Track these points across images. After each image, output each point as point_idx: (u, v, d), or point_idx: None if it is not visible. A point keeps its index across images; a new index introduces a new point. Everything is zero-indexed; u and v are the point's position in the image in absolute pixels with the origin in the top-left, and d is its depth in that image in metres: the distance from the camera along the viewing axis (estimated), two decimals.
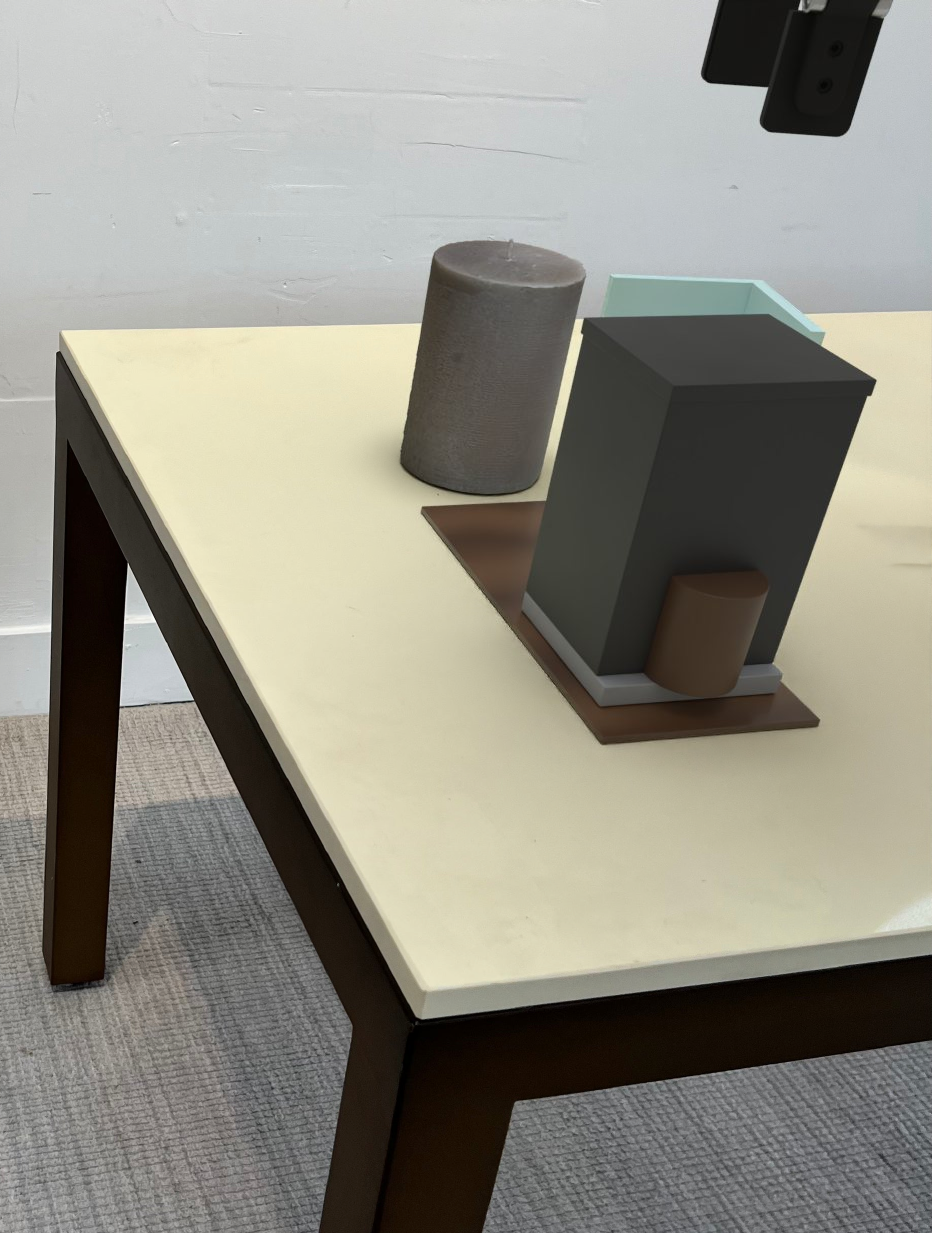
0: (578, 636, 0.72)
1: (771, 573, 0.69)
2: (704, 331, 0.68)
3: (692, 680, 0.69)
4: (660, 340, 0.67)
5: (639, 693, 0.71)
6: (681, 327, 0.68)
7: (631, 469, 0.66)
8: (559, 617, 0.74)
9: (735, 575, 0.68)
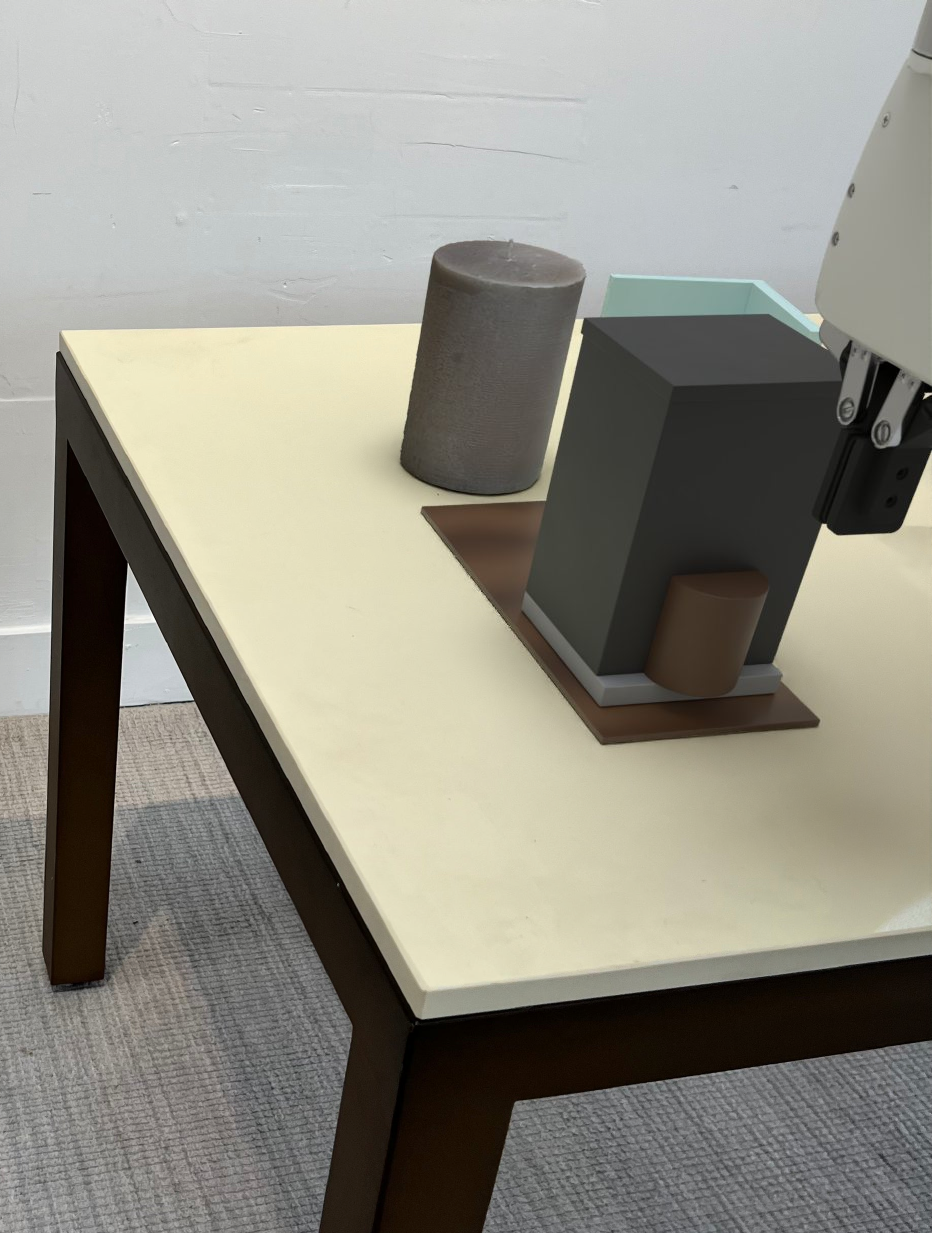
0: (578, 636, 0.72)
1: (771, 573, 0.69)
2: (704, 331, 0.68)
3: (692, 680, 0.69)
4: (660, 340, 0.67)
5: (639, 693, 0.71)
6: (681, 327, 0.68)
7: (631, 469, 0.66)
8: (559, 617, 0.74)
9: (735, 575, 0.68)
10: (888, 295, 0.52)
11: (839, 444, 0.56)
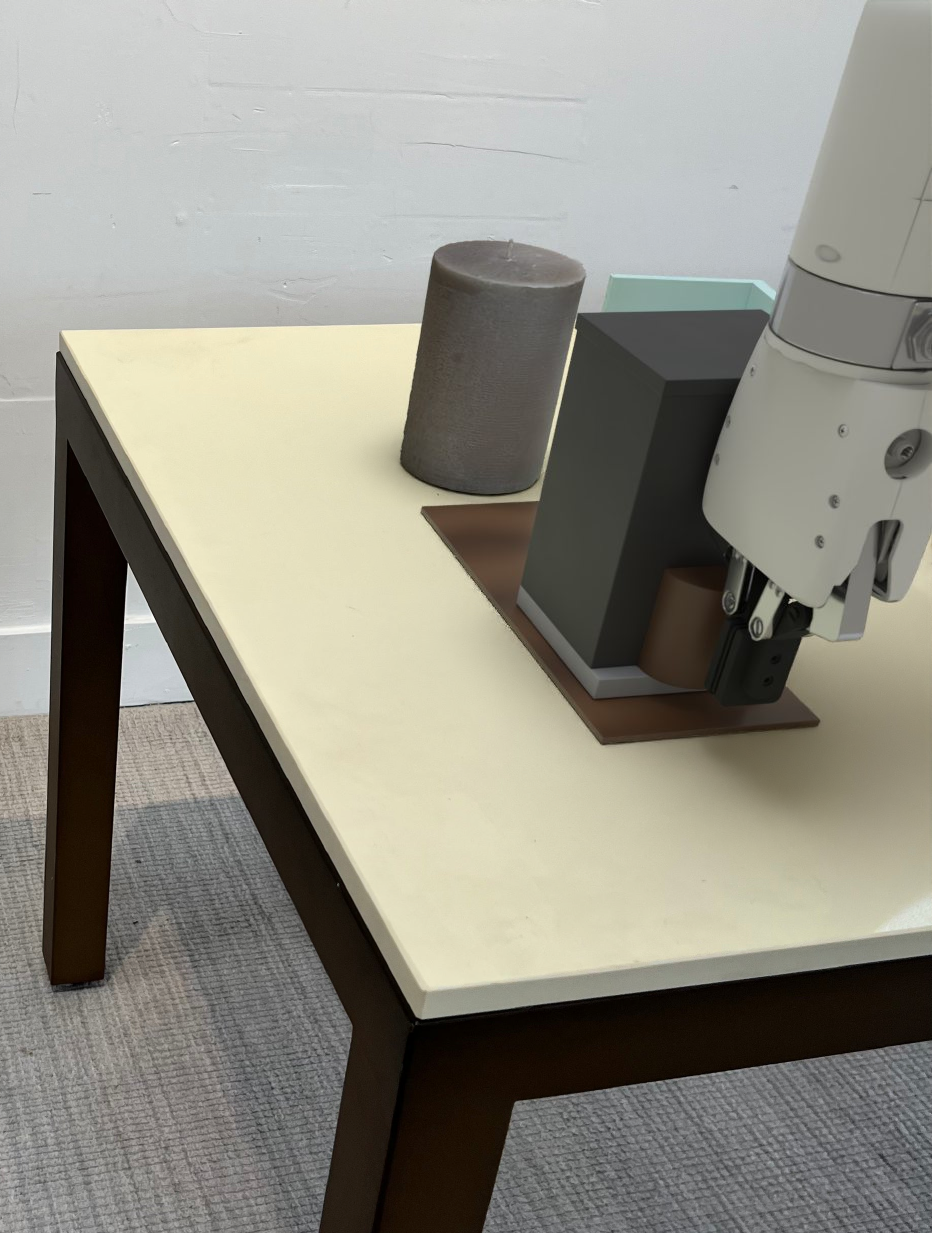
0: (573, 629, 0.73)
1: None
2: (697, 326, 0.69)
3: (685, 672, 0.70)
4: (653, 335, 0.67)
5: (632, 685, 0.71)
6: (674, 322, 0.69)
7: (624, 463, 0.66)
8: (553, 610, 0.75)
9: None
10: (756, 518, 0.61)
11: (724, 631, 0.66)
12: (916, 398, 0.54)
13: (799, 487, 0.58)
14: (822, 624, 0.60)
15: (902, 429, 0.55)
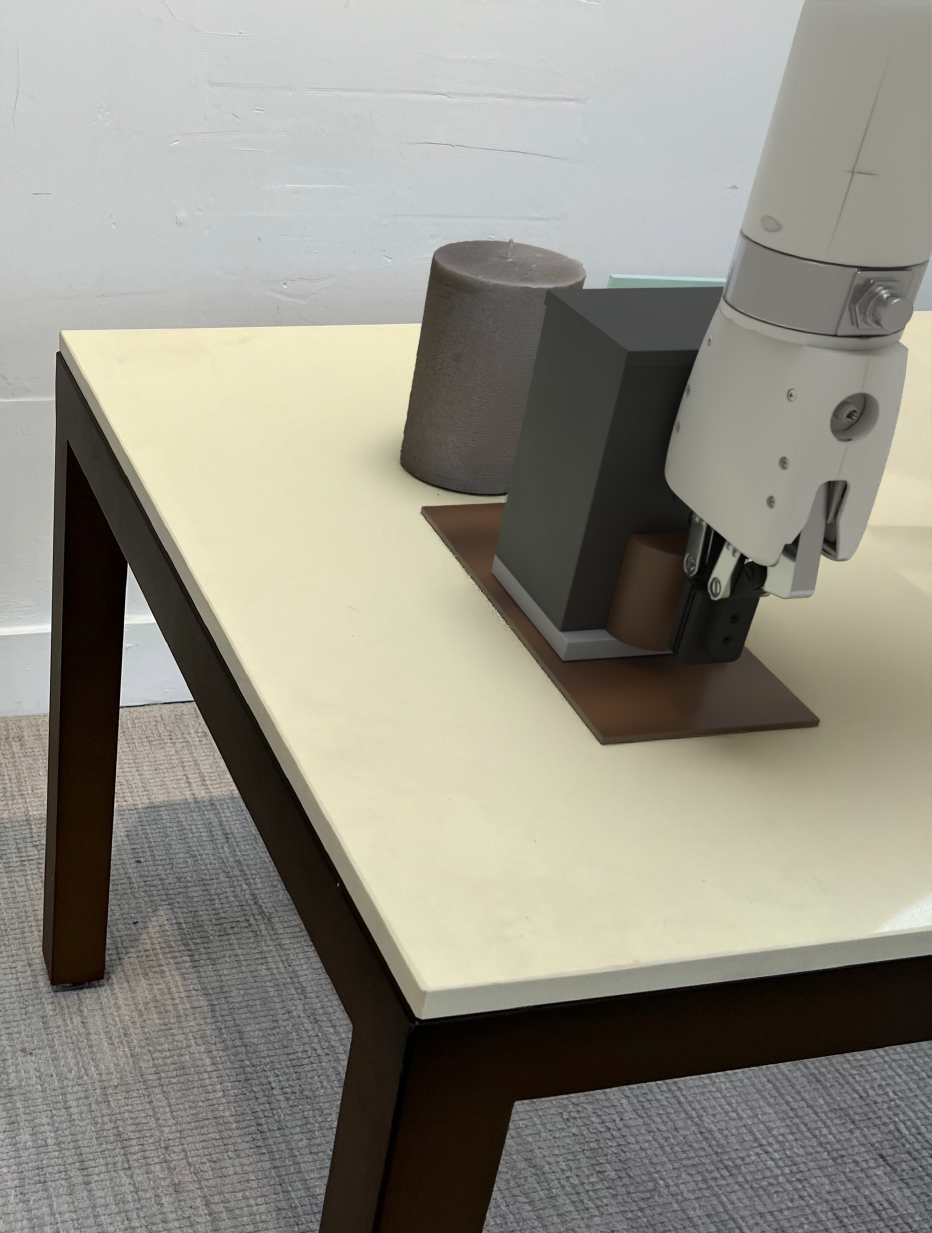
0: (543, 594, 0.76)
1: None
2: (661, 302, 0.72)
3: (650, 635, 0.73)
4: (618, 310, 0.70)
5: (600, 648, 0.74)
6: (639, 298, 0.72)
7: (590, 432, 0.69)
8: (526, 577, 0.78)
9: None
10: (713, 481, 0.64)
11: (685, 592, 0.68)
12: (859, 363, 0.57)
13: (752, 450, 0.61)
14: (775, 582, 0.63)
15: (847, 393, 0.57)
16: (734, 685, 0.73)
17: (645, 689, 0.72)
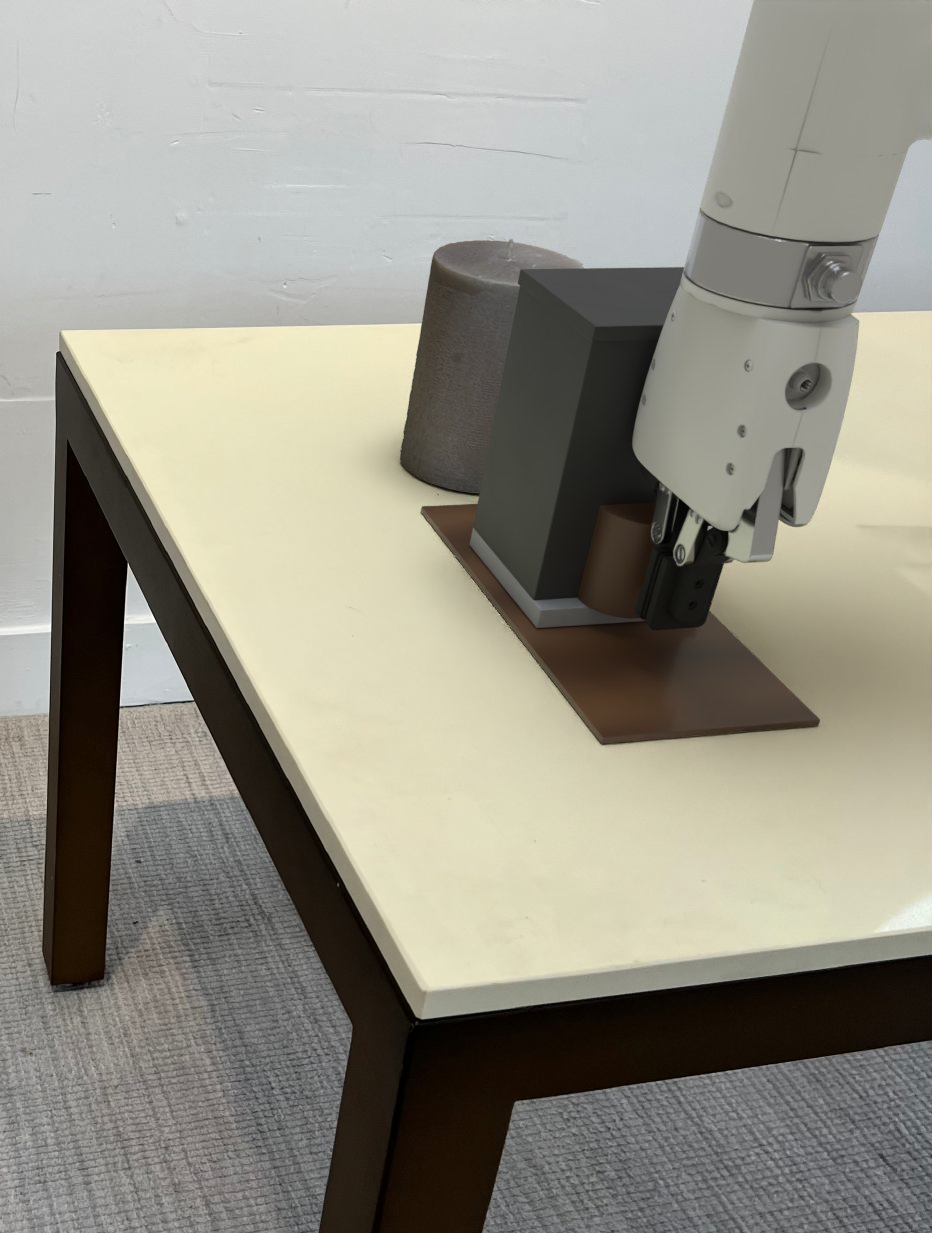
0: (518, 564, 0.78)
1: None
2: (630, 281, 0.74)
3: (620, 602, 0.75)
4: (588, 288, 0.73)
5: (572, 616, 0.77)
6: (609, 277, 0.75)
7: (561, 406, 0.72)
8: (501, 549, 0.80)
9: None
10: (677, 451, 0.67)
11: (652, 559, 0.71)
12: (812, 334, 0.60)
13: (712, 420, 0.64)
14: (736, 547, 0.66)
15: (800, 363, 0.60)
16: (734, 685, 0.73)
17: (645, 689, 0.72)
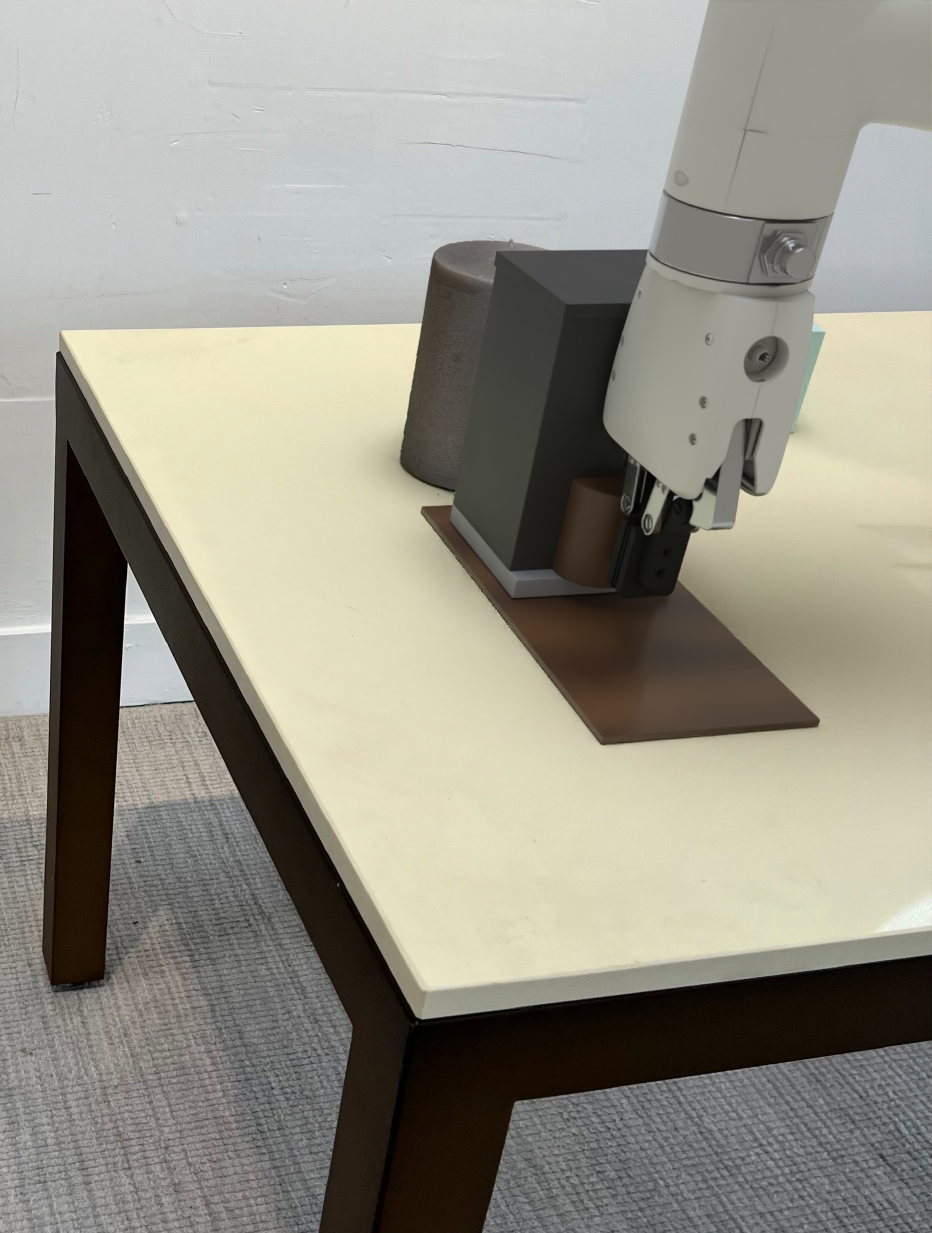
0: (495, 537, 0.81)
1: None
2: (602, 262, 0.77)
3: (592, 572, 0.78)
4: (561, 269, 0.76)
5: (547, 586, 0.80)
6: (582, 259, 0.77)
7: (534, 382, 0.75)
8: (479, 523, 0.83)
9: None
10: (644, 423, 0.70)
11: (621, 529, 0.74)
12: (769, 309, 0.62)
13: (676, 392, 0.66)
14: (700, 515, 0.68)
15: (758, 336, 0.63)
16: (734, 685, 0.73)
17: (645, 689, 0.72)
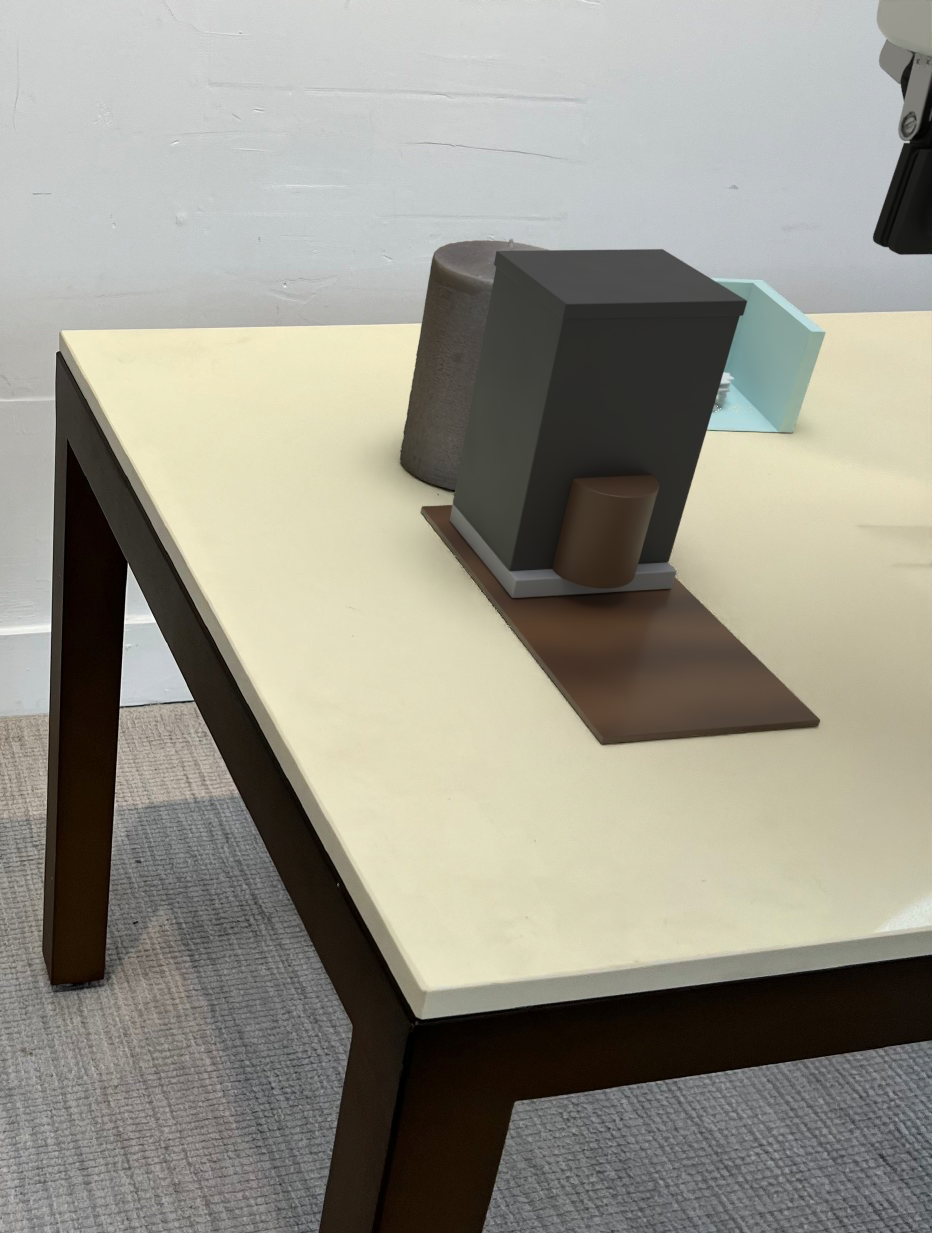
0: (495, 537, 0.81)
1: (662, 477, 0.78)
2: (602, 262, 0.77)
3: (592, 572, 0.78)
4: (561, 269, 0.76)
5: (547, 586, 0.80)
6: (582, 259, 0.77)
7: (534, 382, 0.75)
8: (479, 523, 0.83)
9: (629, 478, 0.77)
10: None
11: (901, 160, 0.57)
12: None
13: None
14: None
15: None
16: (734, 685, 0.73)
17: (645, 689, 0.72)
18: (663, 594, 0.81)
